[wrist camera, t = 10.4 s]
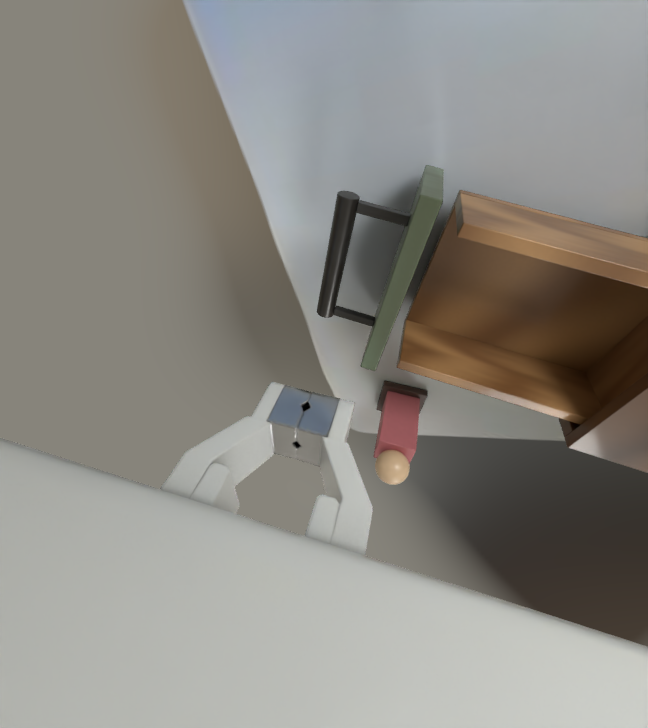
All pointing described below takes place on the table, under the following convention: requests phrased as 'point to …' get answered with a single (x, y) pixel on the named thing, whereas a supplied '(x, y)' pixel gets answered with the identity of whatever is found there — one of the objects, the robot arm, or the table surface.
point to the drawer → (506, 300)
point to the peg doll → (397, 430)
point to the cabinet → (615, 429)
